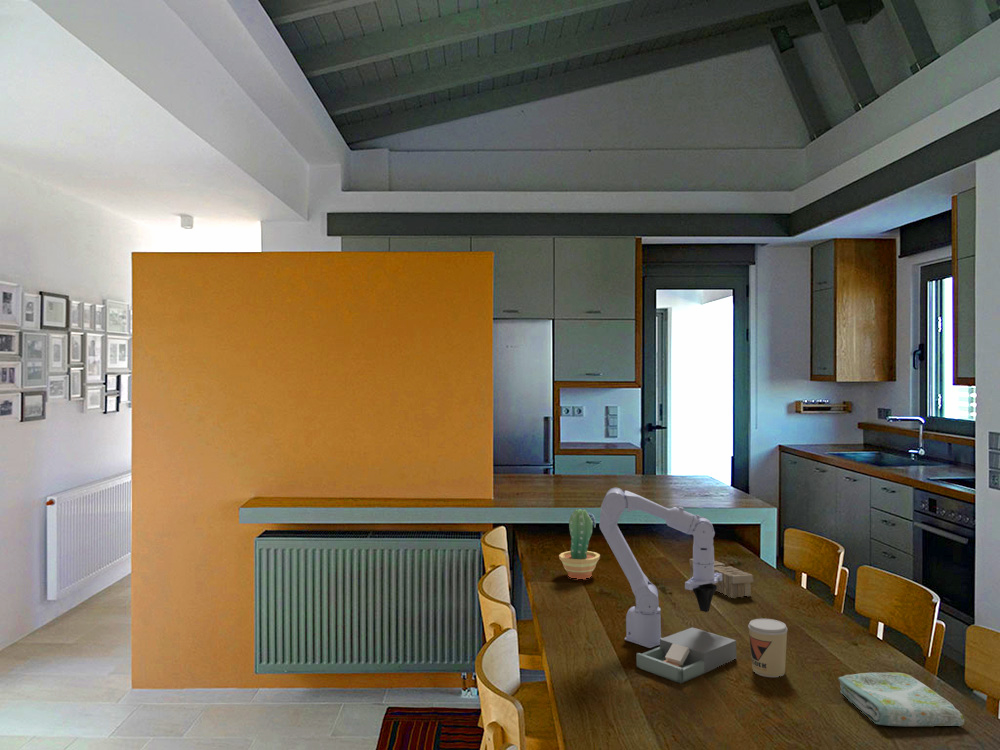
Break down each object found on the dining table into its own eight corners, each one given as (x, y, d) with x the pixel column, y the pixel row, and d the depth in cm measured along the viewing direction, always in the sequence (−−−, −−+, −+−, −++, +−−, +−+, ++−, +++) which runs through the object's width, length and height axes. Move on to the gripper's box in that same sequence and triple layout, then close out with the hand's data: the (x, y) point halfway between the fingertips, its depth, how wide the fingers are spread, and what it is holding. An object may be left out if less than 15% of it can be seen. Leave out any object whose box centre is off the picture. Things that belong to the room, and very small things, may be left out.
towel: (910, 689, 181) (910, 667, 181) (966, 731, 160) (965, 706, 160) (834, 691, 181) (834, 669, 181) (880, 733, 160) (879, 708, 160)
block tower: (687, 580, 280) (733, 600, 252) (686, 557, 280) (732, 574, 252) (706, 578, 282) (754, 597, 254) (705, 555, 283) (752, 572, 255)
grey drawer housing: (660, 657, 203) (659, 639, 203) (692, 645, 212) (692, 627, 212) (704, 673, 192) (703, 653, 192) (736, 659, 201) (736, 640, 201)
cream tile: (666, 660, 196) (665, 656, 195) (674, 647, 198) (672, 643, 198) (682, 665, 193) (680, 661, 192) (689, 651, 195) (688, 647, 195)
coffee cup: (741, 667, 195) (740, 621, 195) (770, 662, 198) (769, 616, 198) (766, 681, 186) (765, 632, 186) (796, 675, 190) (795, 627, 190)
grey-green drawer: (636, 667, 197) (636, 653, 197) (660, 657, 203) (660, 644, 203) (680, 683, 186) (680, 669, 186) (704, 673, 192) (704, 659, 192)
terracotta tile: (667, 659, 197) (667, 665, 197) (655, 663, 194) (655, 669, 194) (681, 664, 193) (681, 670, 193) (669, 669, 190) (669, 675, 190)
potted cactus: (602, 581, 277) (601, 513, 277) (560, 582, 278) (559, 513, 278) (598, 570, 293) (596, 505, 293) (558, 571, 293) (556, 506, 293)
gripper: (699, 569, 204) (700, 619, 204) (731, 560, 213) (732, 608, 213) (678, 564, 210) (679, 613, 210) (709, 555, 219) (710, 602, 219)
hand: (704, 610), depth 212 cm, fingers closed
